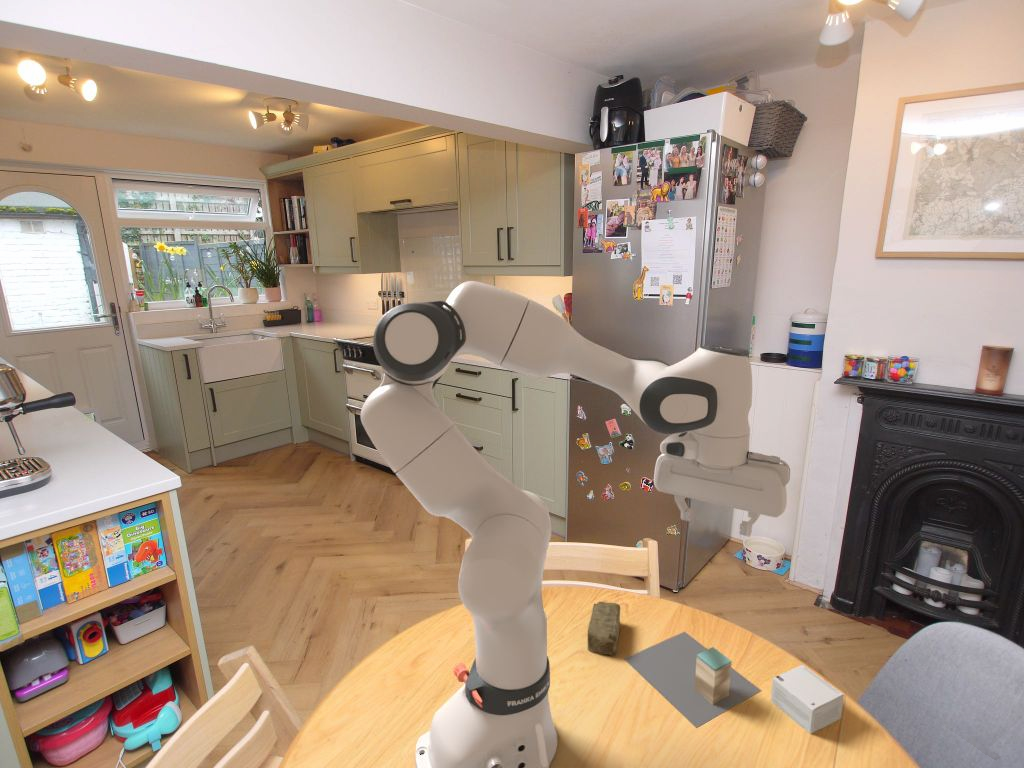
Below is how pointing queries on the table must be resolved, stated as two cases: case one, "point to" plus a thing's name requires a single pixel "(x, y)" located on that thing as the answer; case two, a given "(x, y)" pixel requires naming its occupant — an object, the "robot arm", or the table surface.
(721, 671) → the birch block
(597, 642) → the stone block
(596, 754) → the table surface
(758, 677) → the table surface
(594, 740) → the table surface
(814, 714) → the small box
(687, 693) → the rubber mat
